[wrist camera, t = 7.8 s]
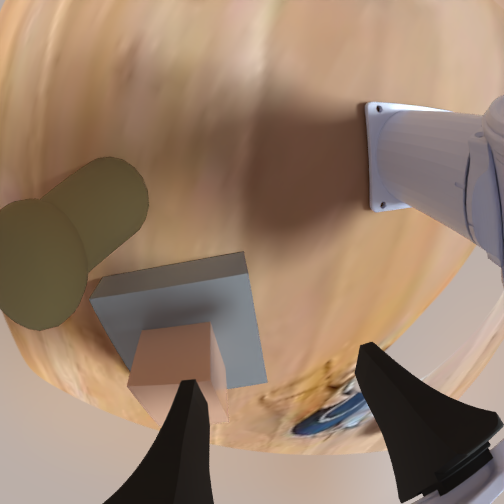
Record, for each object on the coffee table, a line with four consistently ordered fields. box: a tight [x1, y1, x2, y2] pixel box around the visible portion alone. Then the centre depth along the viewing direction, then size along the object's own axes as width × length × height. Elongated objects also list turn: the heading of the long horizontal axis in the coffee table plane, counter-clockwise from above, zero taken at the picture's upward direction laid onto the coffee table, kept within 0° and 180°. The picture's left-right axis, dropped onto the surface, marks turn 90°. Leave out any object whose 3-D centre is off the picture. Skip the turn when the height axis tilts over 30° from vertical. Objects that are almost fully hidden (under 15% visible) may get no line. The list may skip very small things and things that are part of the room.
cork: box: [0, 157, 149, 331], centre depth 11 cm, size 6×6×11 cm
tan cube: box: [127, 322, 229, 426], centre depth 16 cm, size 5×5×5 cm
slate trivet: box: [89, 252, 267, 389], centre depth 20 cm, size 11×11×3 cm
